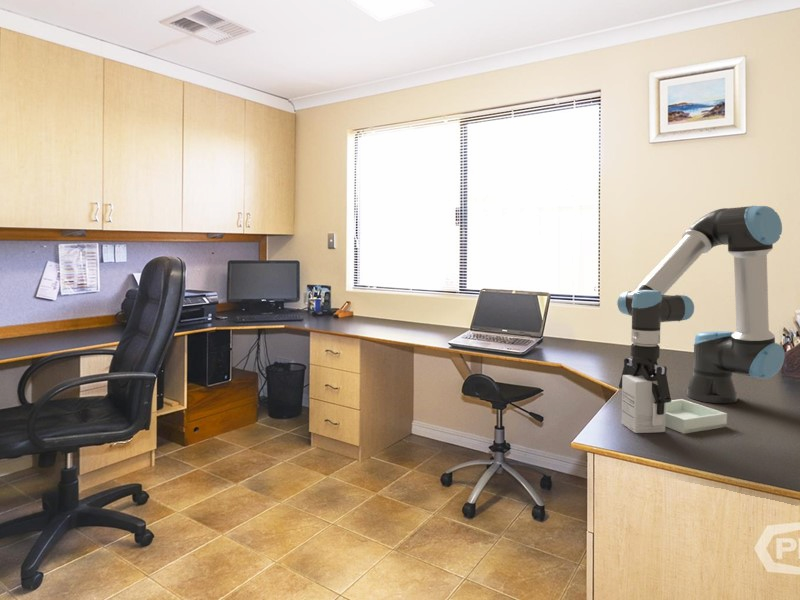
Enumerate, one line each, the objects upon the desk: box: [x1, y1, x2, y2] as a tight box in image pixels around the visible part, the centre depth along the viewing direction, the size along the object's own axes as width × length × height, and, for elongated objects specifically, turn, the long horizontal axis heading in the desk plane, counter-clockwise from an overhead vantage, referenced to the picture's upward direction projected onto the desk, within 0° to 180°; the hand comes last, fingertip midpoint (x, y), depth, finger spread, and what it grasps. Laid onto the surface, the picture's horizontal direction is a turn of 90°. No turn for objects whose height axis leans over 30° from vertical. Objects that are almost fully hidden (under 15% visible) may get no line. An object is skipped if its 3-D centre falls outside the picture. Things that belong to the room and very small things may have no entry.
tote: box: [665, 398, 728, 434], centre depth 160 cm, size 16×16×4 cm
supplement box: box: [621, 374, 666, 434], centre depth 154 cm, size 9×9×15 cm
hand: (642, 419), depth 155 cm, fingers closed on supplement box, 10 cm apart
